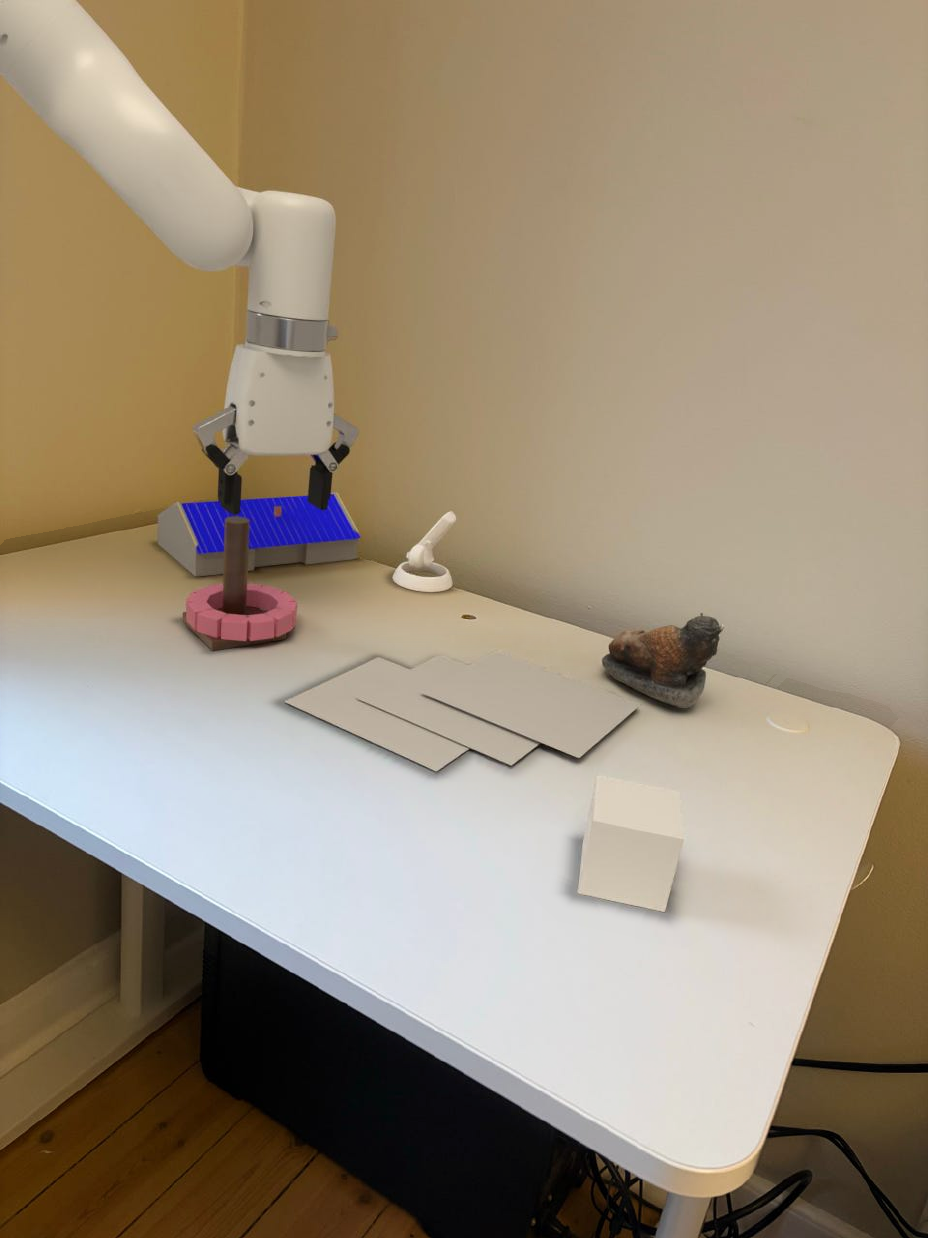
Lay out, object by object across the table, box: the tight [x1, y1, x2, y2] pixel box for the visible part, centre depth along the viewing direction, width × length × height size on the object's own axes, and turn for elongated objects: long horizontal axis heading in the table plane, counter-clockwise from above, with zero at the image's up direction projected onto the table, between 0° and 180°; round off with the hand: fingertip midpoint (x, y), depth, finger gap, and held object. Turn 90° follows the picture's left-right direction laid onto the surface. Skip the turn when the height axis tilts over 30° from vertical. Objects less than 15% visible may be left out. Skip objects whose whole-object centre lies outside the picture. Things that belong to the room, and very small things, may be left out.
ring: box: [185, 582, 298, 641], centre depth 96 cm, size 11×11×2 cm
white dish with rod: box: [392, 510, 457, 593], centre depth 114 cm, size 8×12×7 cm
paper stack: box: [284, 650, 642, 772], centre depth 86 cm, size 23×25×1 cm
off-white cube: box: [577, 774, 685, 913], centre depth 64 cm, size 6×6×6 cm
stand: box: [181, 516, 287, 652], centre depth 94 cm, size 8×8×12 cm
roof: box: [156, 491, 361, 578], centre depth 118 cm, size 22×14×7 cm, turn 127°
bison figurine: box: [601, 612, 725, 709], centre depth 93 cm, size 12×7×10 cm, turn 41°
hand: (274, 508), depth 94 cm, fingers open, 9 cm apart
